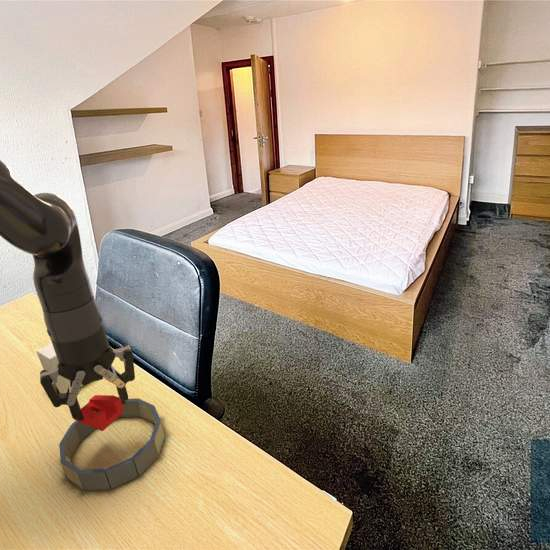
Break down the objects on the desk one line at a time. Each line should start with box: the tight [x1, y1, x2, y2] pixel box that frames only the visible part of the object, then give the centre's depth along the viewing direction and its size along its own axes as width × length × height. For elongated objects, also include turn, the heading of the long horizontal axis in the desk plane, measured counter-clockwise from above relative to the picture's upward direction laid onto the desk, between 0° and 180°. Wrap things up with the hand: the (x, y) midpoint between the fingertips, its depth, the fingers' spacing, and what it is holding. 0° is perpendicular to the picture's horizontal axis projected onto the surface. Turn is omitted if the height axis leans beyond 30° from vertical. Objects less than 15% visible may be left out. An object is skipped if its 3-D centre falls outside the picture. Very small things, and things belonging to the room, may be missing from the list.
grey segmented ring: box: [58, 398, 165, 491], centre depth 73 cm, size 17×17×4 cm
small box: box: [36, 342, 84, 393], centre depth 89 cm, size 8×6×10 cm
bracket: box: [73, 394, 124, 432], centre depth 69 cm, size 6×5×3 cm
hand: (101, 409), depth 70 cm, fingers closed on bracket, 6 cm apart
